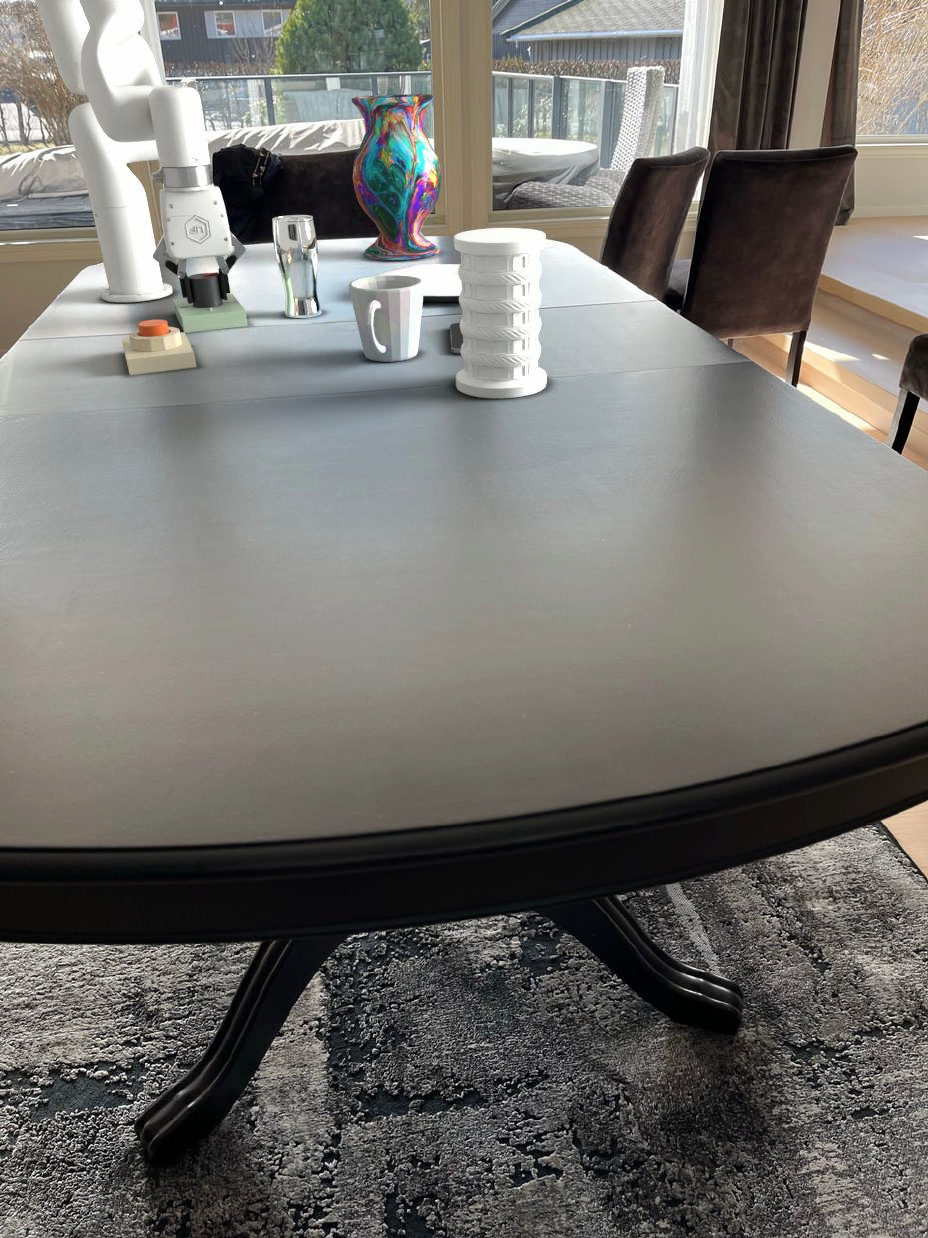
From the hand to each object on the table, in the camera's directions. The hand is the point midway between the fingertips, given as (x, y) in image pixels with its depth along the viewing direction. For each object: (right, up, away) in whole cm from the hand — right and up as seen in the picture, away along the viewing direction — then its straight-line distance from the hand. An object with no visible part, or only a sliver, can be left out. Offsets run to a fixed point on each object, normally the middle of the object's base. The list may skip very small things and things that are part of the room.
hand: (207, 298), depth 155 cm
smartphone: (+44, -11, -14) cm, 48 cm away
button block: (-2, -15, -19) cm, 24 cm away
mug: (+31, -16, -22) cm, 41 cm away
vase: (+29, +26, +49) cm, 62 cm away
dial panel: (0, -3, +2) cm, 3 cm away
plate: (+38, +7, +17) cm, 42 cm away
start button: (-2, -12, -21) cm, 24 cm away
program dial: (0, -1, 0) cm, 1 cm away
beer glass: (+15, -1, +4) cm, 16 cm away
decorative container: (+47, -23, -33) cm, 62 cm away
